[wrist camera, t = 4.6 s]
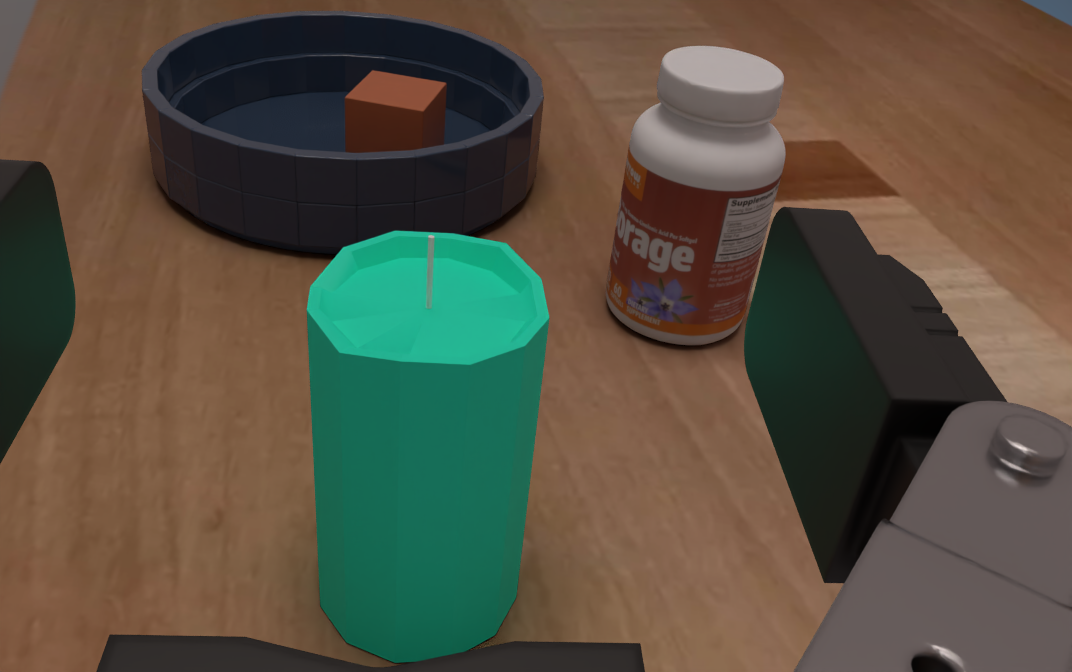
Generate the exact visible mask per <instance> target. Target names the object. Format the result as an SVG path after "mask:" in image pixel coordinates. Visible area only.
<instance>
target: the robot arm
mask: <svg viewBox="0 0 1072 672" xmlns="http://www.w3.org/2000/svg"><path fill="white" fill-rule="evenodd" d="M942 309H943V308H942V306H941V305H940V303H939V302H938V300H937V299H936V298H935V296H934V295H933V293H932V292H931V290H930V289H929V287H928V286H927V284H926V283H925V282H924V280H923V279H921V278H920V277H919V276H917V275H916V274H914V273H913V272H912V271H910V270H909V269H908V268H906V267H905V266H904V265H902V264H901V263H899V262H898V261H897V260H895V259H894V258H893V257H891V256H890V255H877V253H876V252H875V250H874V249H873V247H872V246H871V244H870V242H869V241H868V239H867V238H866V236H865V235H864V233H863V232H862V230H861V228H860V227H859V225H858V224H857V222H856V221H855V219H854V218H853V216H852V215H851V214H850V213H849V212H848V211H843V210H826V209H809V208H792V207H783V208H781V209H780V210H779V211H778V212H777V213H776V215H775V217H774V219H773V222H772V224H771V228H770V231H769V235H768V239H767V243H766V247H765V251H764V255H763V259H762V263H761V267H760V271H759V275H758V279H757V283H756V287H755V291H754V295H753V299H752V303H751V307H750V310H749V314H748V318H747V323H746V329H745V340H744V355H745V365H746V370H747V374H748V377H749V379H750V382H751V385H752V388H753V390H754V393H755V396H756V398H757V401H758V404H759V407H760V409H761V412H762V415H763V417H764V420H765V423H766V426H767V428H768V431H769V434H770V437H771V439H772V442H773V445H774V447H775V450H776V453H777V456H778V458H779V461H780V464H781V466H782V469H783V472H784V475H785V477H786V480H787V483H788V486H789V488H790V491H791V494H792V496H793V499H794V502H795V505H796V507H797V510H798V513H799V515H800V518H801V521H802V524H803V526H804V529H805V532H806V535H807V537H808V540H809V543H810V545H811V548H812V551H813V554H814V556H815V559H816V562H817V564H818V567H819V570H820V573H821V575H822V578H823V581H824V583H844V585H843V587H842V588H841V590H840V592H839V594H838V595H837V597H836V599H835V601H834V602H833V604H832V606H831V608H830V609H829V611H828V613H827V614H826V616H825V618H824V620H823V621H822V623H821V625H820V627H819V628H818V630H817V632H816V634H815V635H814V637H813V639H812V641H811V642H810V644H809V646H808V648H807V649H806V651H805V653H804V655H803V656H802V658H801V660H800V662H799V663H798V665H797V667H796V668H795V670H794V672H1072V427H1071V426H1069V425H1068V424H1066V423H1064V422H1062V421H1060V420H1059V419H1057V418H1055V417H1052V416H1050V415H1048V414H1046V413H1044V412H1041V411H1038V410H1035V409H1033V408H1030V407H1026V406H1022V405H1018V404H1014V403H1008V402H1007V401H1006V399H1005V398H1004V396H1003V395H1002V393H1001V392H1000V391H999V389H998V388H997V386H996V385H995V383H994V382H993V380H992V379H991V377H990V376H989V375H988V373H987V372H986V370H985V369H984V367H983V366H982V364H981V363H980V361H979V360H978V359H977V357H976V356H975V354H974V353H973V351H972V350H971V348H970V347H969V345H968V344H967V343H966V341H965V340H964V338H963V337H960V336H958V329H957V328H956V327H955V325H954V324H953V322H952V321H951V319H950V318H949V316H948V315H947V314H946V313H942ZM74 319H75V289H74V283H73V278H72V273H71V268H70V263H69V257H68V252H67V247H66V242H65V237H64V232H63V227H62V222H61V217H60V212H59V207H58V202H57V197H56V192H55V187H54V183H53V180H52V177H51V174H50V172H49V170H48V169H47V167H46V166H45V165H44V164H43V163H41V162H35V161H18V160H1V159H0V463H1V462H2V460H3V458H4V456H5V455H6V453H7V451H8V449H9V447H10V446H11V444H12V442H13V440H14V439H15V437H16V435H17V433H18V431H19V430H20V428H21V426H22V424H23V422H24V421H25V419H26V417H27V415H28V414H29V412H30V410H31V408H32V406H33V405H34V403H35V401H36V399H37V397H38V396H39V394H40V392H41V390H42V389H43V387H44V385H45V383H46V381H47V380H48V378H49V376H50V374H51V373H52V371H53V369H54V367H55V365H56V364H57V362H58V360H59V358H60V356H61V355H62V353H63V351H64V349H65V348H66V346H67V344H68V342H69V339H70V337H71V334H72V330H73V325H74ZM97 672H645V670H644V664H643V658H642V652H641V645H640V643H583V642H523V641H514V642H509V643H504V644H499V645H495V646H490V647H485V648H480V649H475V650H470V651H465V652H460V653H456V654H451V655H446V656H441V657H436V658H431V659H426V660H422V661H417V662H412V663H407V664H402V665H397V666H392V667H384V668H381V667H368V666H363V665H359V664H355V663H351V662H347V661H342V660H338V659H334V658H330V657H326V656H322V655H318V654H313V653H309V652H305V651H301V650H297V649H293V648H289V647H285V646H280V645H276V644H272V643H268V642H264V641H260V640H256V639H252V638H247V637H222V636H162V635H109V638H108V641H107V644H106V646H105V649H104V652H103V655H102V658H101V660H100V663H99V666H98V669H97Z"/></svg>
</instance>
